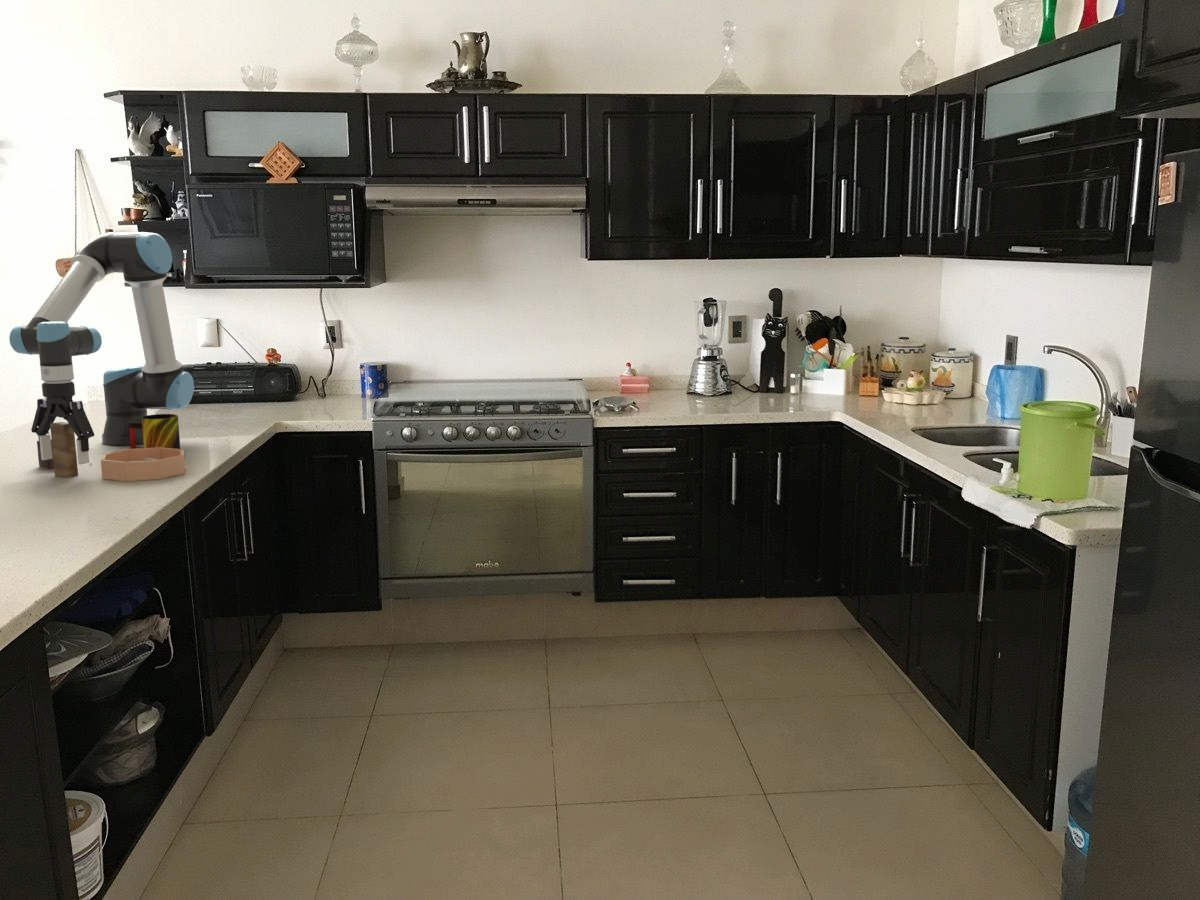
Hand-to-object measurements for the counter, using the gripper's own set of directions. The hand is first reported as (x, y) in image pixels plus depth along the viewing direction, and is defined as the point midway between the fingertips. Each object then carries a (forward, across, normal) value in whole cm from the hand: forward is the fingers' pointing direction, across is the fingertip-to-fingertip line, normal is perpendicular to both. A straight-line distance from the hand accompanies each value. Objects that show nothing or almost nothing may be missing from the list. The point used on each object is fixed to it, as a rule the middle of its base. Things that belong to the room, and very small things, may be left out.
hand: (65, 461), depth 268 cm
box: (+4, -13, +7) cm, 15 cm away
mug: (+4, +2, +28) cm, 28 cm away
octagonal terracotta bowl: (+4, +16, +11) cm, 20 cm away
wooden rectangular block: (+4, 0, 0) cm, 4 cm away
